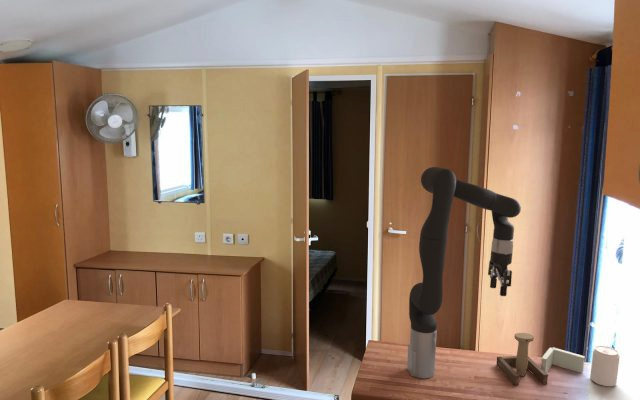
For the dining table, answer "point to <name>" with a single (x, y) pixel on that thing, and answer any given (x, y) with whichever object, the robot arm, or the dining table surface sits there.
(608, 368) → the beverage can
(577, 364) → the cream l-shaped bracket
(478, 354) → the dining table surface
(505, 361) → the u-shaped bracket
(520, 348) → the handle
